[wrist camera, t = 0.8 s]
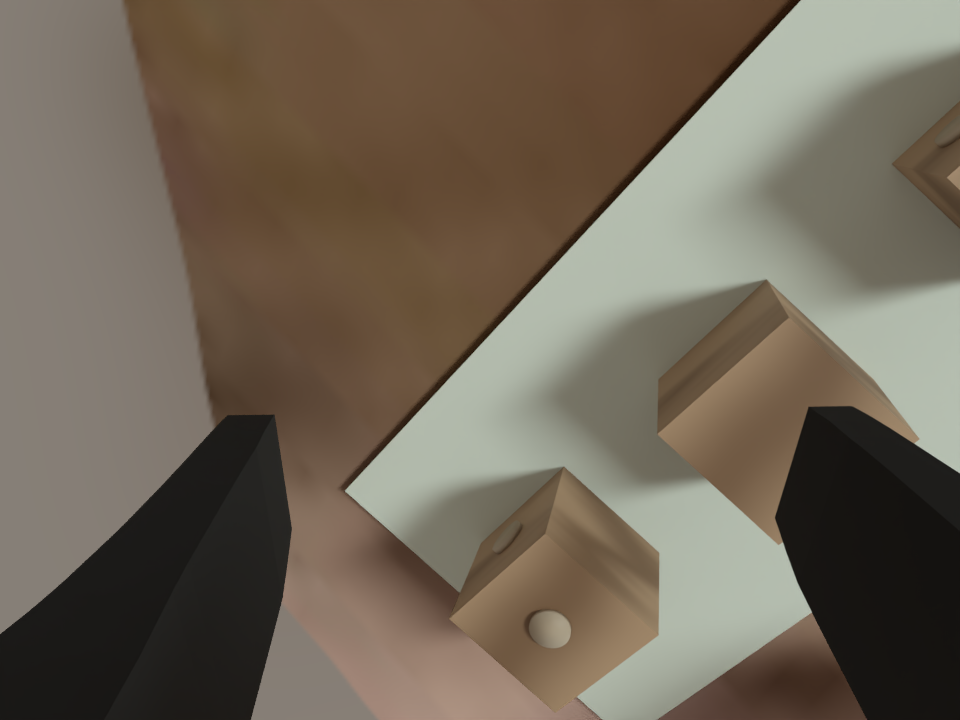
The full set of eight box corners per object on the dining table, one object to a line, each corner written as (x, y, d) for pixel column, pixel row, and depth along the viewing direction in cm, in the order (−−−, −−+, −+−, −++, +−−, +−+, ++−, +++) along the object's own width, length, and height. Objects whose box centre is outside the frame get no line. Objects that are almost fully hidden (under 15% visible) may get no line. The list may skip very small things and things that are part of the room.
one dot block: (659, 552, 30) (658, 639, 25) (571, 623, 32) (554, 717, 27) (560, 463, 29) (539, 532, 25) (477, 539, 31) (443, 618, 26)
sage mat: (1374, 211, 22) (1385, 213, 21) (626, 733, 33) (626, 740, 33) (972, -185, 21) (977, -190, 21) (348, 486, 32) (344, 491, 32)
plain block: (873, 379, 26) (919, 439, 21) (759, 472, 28) (778, 545, 23) (766, 279, 26) (788, 317, 21) (658, 379, 28) (657, 434, 23)
